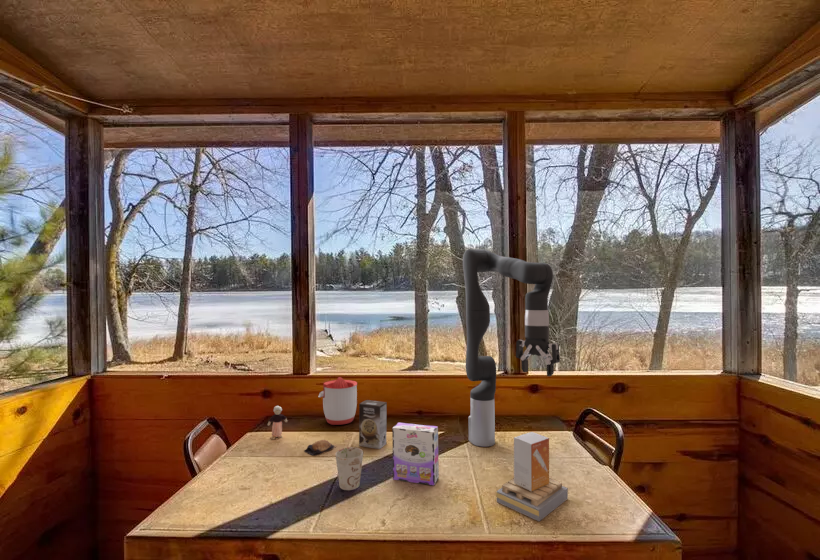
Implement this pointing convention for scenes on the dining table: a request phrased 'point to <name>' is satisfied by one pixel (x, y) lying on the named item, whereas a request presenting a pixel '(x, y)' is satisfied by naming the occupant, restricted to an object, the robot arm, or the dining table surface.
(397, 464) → the candy box
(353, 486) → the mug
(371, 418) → the coffee box
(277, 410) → the grandmother figurine
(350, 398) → the citrus juicer
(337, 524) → the dining table surface
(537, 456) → the small box
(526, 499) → the rack
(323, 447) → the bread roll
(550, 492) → the pallet
